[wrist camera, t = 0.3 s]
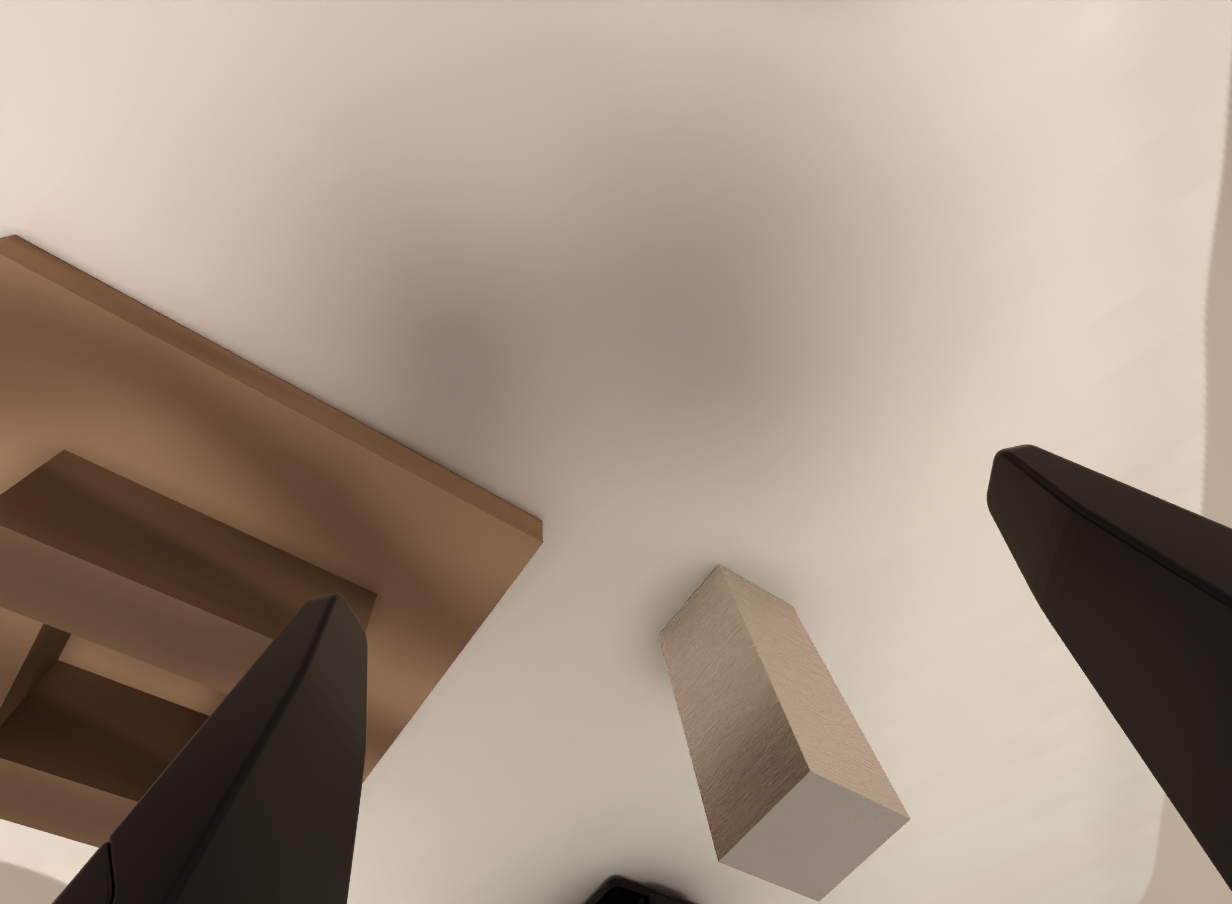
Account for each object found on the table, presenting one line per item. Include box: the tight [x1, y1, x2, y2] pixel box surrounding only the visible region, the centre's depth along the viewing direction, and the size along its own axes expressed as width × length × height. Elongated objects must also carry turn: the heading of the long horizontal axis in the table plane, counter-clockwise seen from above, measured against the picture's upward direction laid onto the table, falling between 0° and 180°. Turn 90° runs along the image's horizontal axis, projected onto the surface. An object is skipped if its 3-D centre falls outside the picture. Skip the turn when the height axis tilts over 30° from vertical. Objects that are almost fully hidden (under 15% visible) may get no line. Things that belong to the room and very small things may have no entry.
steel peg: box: [659, 565, 910, 901], centre depth 25 cm, size 4×4×10 cm
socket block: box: [0, 235, 543, 848], centre depth 24 cm, size 20×18×6 cm
